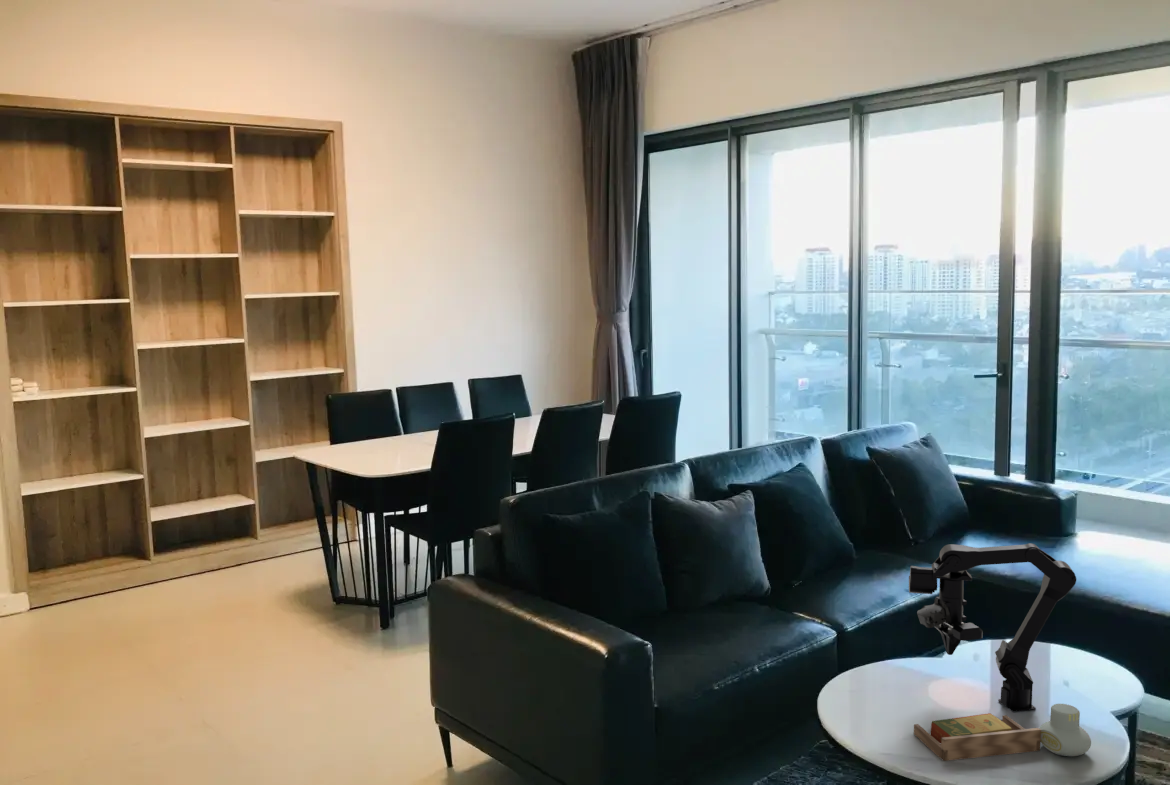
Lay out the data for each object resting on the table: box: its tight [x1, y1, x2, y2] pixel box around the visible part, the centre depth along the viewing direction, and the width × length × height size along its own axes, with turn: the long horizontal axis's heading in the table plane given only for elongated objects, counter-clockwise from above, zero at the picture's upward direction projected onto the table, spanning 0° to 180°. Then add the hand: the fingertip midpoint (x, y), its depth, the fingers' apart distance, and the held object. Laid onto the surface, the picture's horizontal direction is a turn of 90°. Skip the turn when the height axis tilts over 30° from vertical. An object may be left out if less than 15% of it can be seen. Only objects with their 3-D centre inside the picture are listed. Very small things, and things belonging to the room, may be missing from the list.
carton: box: [930, 712, 1012, 744], centre depth 223 cm, size 8×16×4 cm, turn 103°
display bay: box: [913, 714, 1042, 762], centre depth 221 cm, size 24×13×5 cm, turn 100°
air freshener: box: [1038, 703, 1092, 757], centre depth 217 cm, size 11×8×10 cm
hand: (949, 654), depth 244 cm, fingers closed
